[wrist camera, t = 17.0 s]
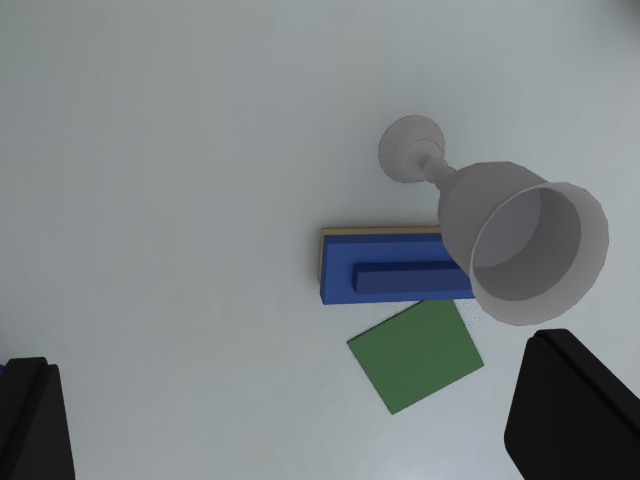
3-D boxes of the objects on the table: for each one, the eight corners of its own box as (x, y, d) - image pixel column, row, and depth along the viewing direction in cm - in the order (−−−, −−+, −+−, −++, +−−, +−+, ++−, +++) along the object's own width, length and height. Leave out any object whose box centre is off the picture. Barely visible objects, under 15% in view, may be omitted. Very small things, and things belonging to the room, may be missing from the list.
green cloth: (391, 413, 53) (392, 415, 52) (346, 342, 48) (347, 343, 48) (483, 364, 52) (484, 365, 52) (446, 287, 48) (447, 288, 48)
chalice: (362, 108, 40) (467, 198, 24) (454, 92, 41) (616, 168, 25) (371, 204, 43) (470, 339, 27) (457, 187, 44) (602, 309, 28)
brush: (315, 283, 45) (326, 315, 41) (319, 224, 43) (331, 252, 39) (468, 277, 48) (494, 307, 44) (479, 222, 46) (507, 247, 42)
